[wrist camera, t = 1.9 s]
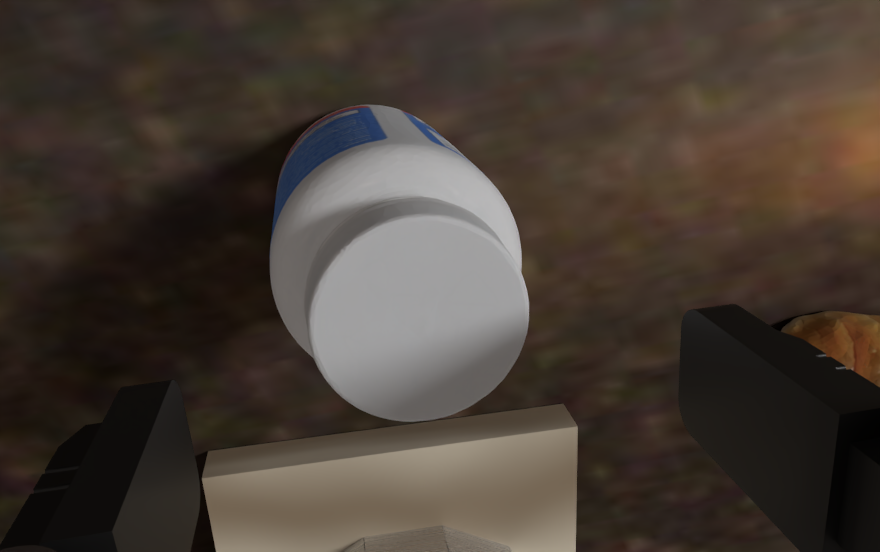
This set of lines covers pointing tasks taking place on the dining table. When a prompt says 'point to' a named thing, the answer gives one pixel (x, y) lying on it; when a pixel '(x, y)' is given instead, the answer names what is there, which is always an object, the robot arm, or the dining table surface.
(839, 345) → the pastry
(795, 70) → the dining table surface
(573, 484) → the ring plate
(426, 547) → the ring collar
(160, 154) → the dining table surface
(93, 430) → the robot arm
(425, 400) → the pill bottle
